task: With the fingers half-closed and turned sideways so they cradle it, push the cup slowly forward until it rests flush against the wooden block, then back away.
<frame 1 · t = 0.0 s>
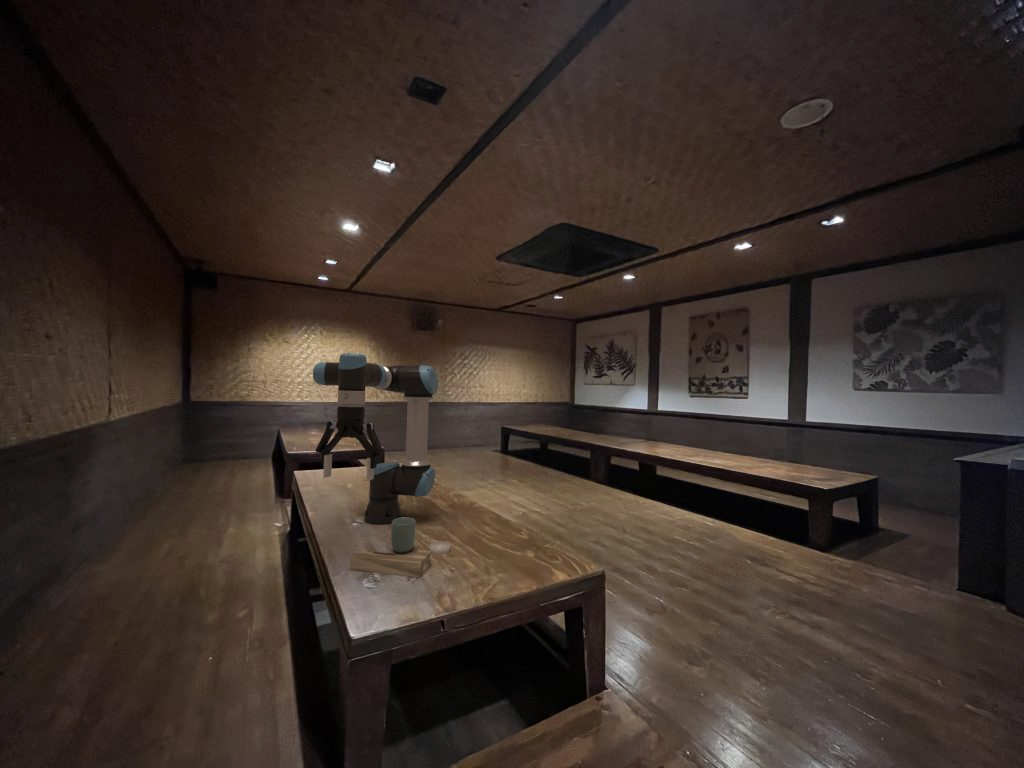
hand: (348, 478, 116), 28 cm above the table, fingers open, 13 cm apart
cup: (402, 551, 134), on the table
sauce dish: (439, 551, 135), on the table
wooden block: (387, 570, 118), on the table
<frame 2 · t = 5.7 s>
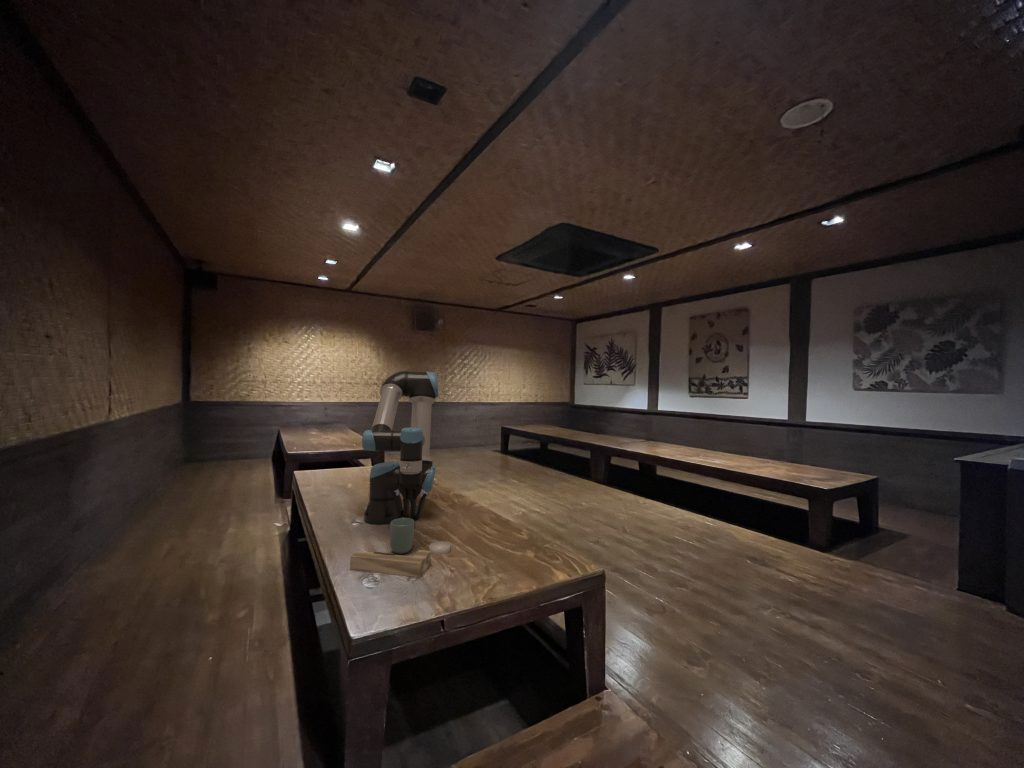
hand: (408, 539, 138), 2 cm above the table, fingers closed
cup: (401, 551, 133), on the table, touching gripper
everything else where it was.
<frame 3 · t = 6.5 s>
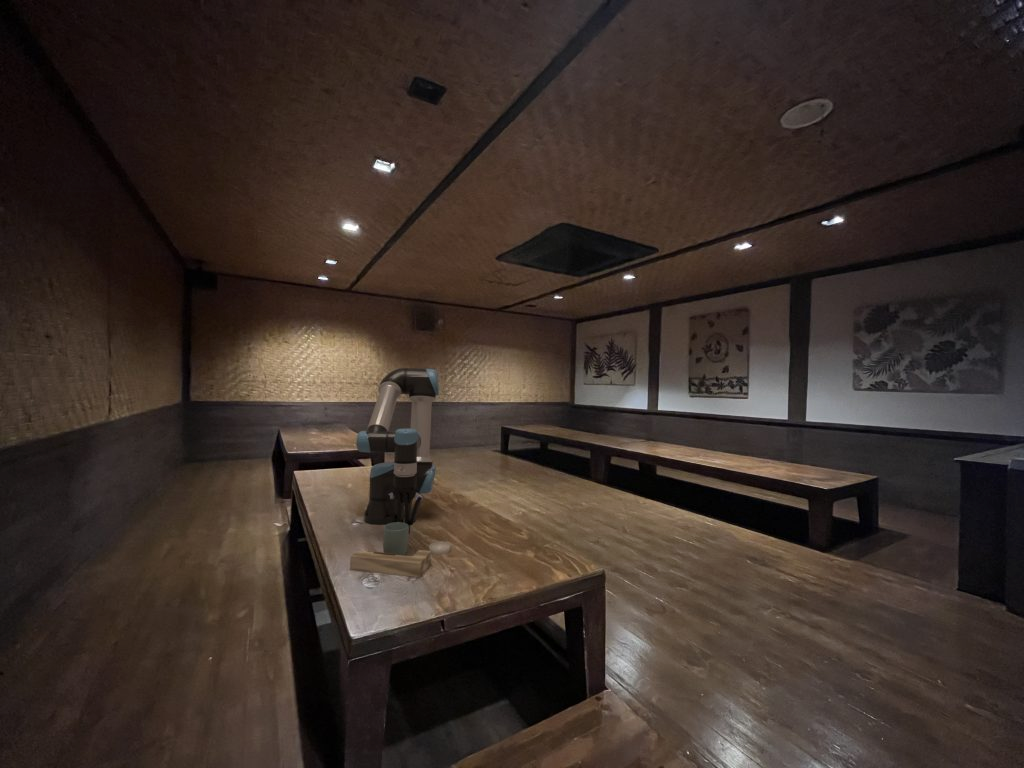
hand: (403, 544, 133), 2 cm above the table, fingers closed
cup: (395, 557, 128), on the table, touching gripper
everything else where it was.
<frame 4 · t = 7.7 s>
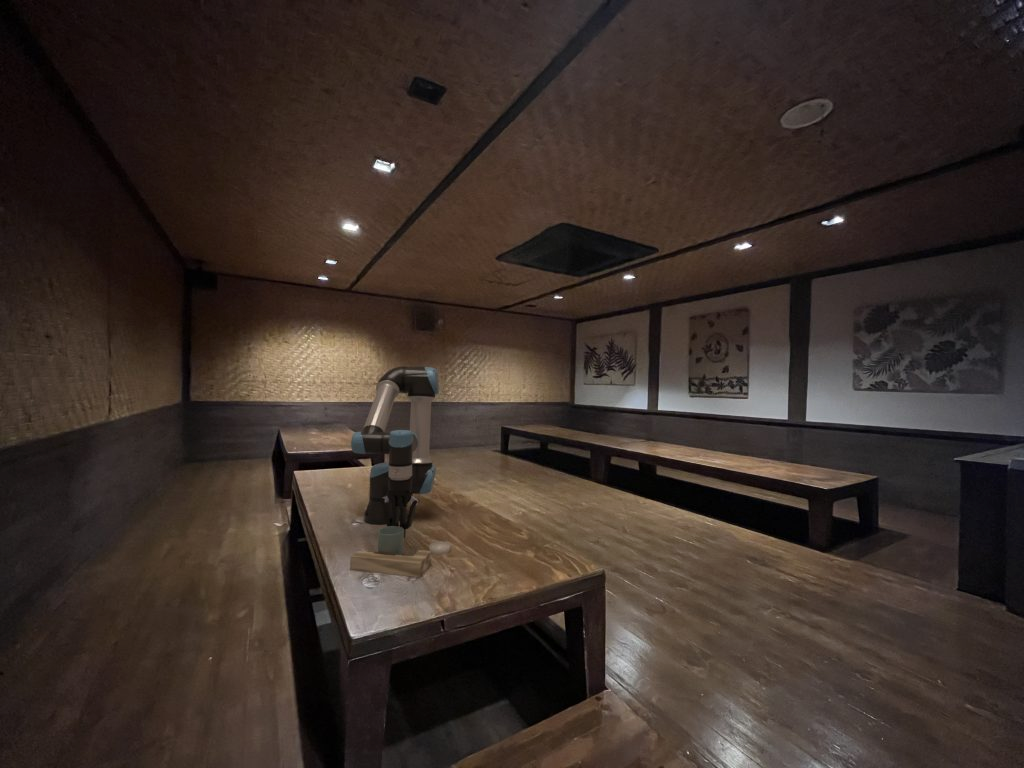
hand: (398, 548, 130), 2 cm above the table, fingers closed
cup: (390, 562, 124), on the table, touching wooden block, gripper
everything else where it was.
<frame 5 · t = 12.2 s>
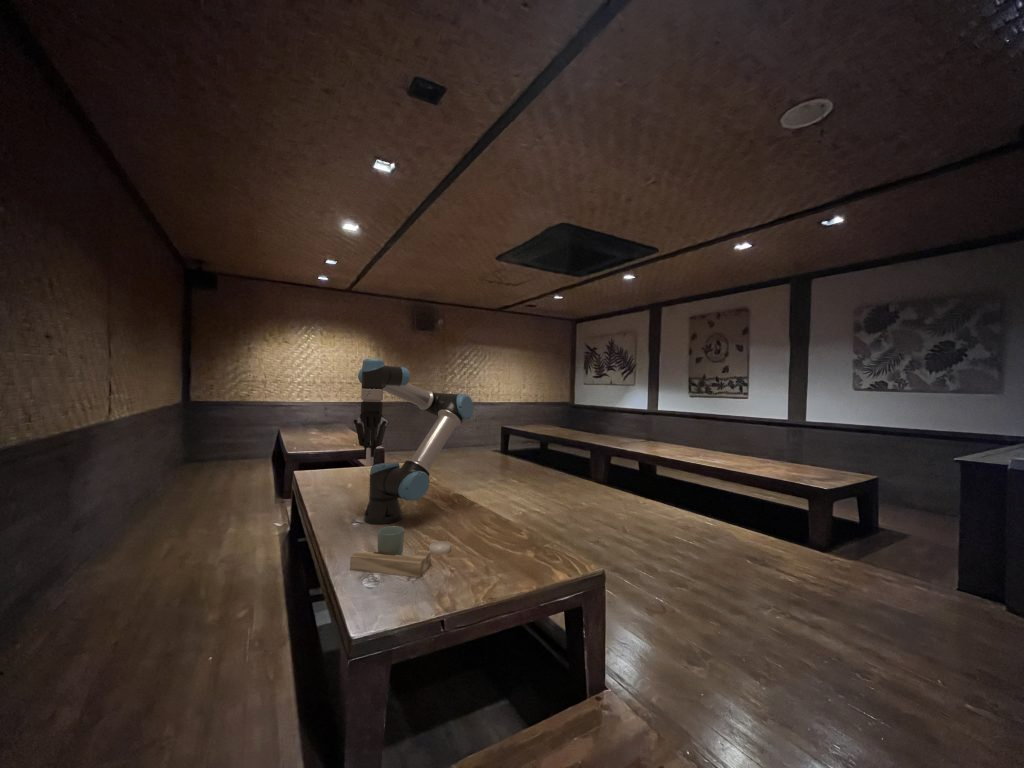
hand: (369, 465, 144), 26 cm above the table, fingers closed
cup: (390, 562, 124), on the table
everything else where it was.
at the end: cup inside the target area on the wooden block (0.6 cm from its centre), point 0.0 cm above the wooden block's base; cup tilted 0°; the gripper is holding nothing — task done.
